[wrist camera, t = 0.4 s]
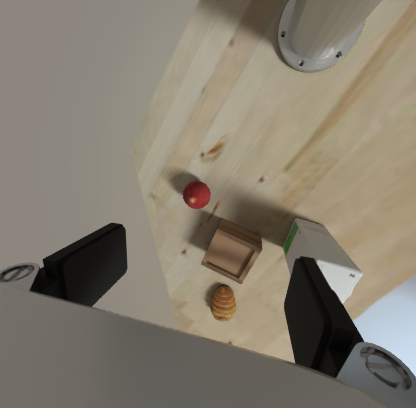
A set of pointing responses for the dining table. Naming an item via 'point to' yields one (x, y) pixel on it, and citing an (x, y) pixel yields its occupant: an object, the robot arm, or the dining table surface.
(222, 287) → the pastry
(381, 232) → the dining table surface
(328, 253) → the skincare box
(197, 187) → the onion
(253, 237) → the wooden crate
